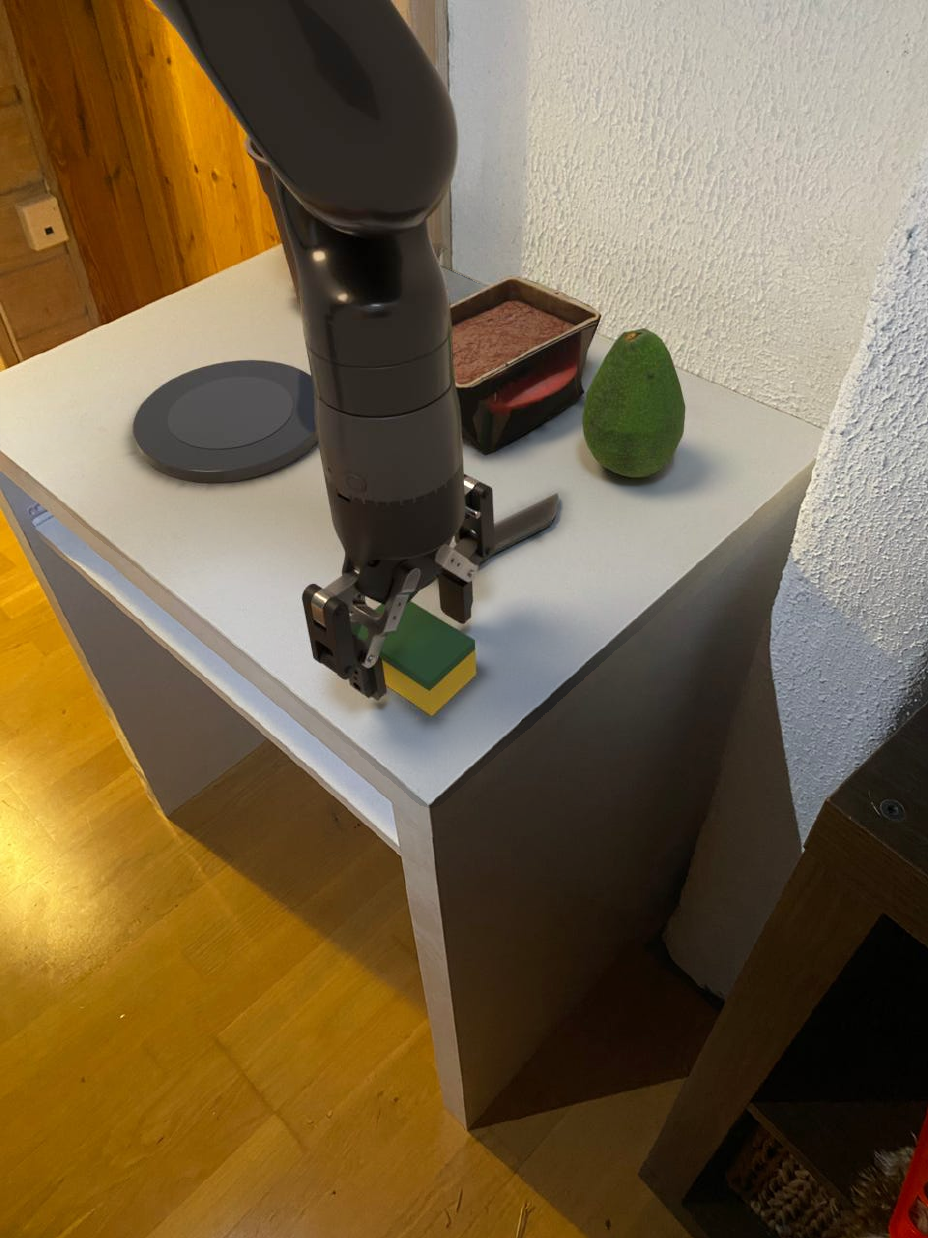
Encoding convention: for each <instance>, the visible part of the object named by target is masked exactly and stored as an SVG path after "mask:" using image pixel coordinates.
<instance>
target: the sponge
mask: <svg viewBox="0 0 928 1238" xmlns="http://www.w3.org/2000/svg"><path fill="white" fill-rule="evenodd" d="M384 608H385V605H383V604H381V603H380V604H379V605H378V606H377V607H376V608H375V609H374V610H375V611H377V612H379V613H380V614H383V611H384ZM367 636H368V629H367V628H366V627H365V626H363V625H361V628H360V631H359V634H358V638H360V639H361V640H363V641H364V642H366V639H367ZM379 657H381V658H382V664H383V670H384V677H385V683H386V687H388V688H389V689H390V690H392V691H394V692H395V693H397V694H398V695H399V696H401V697H403V698H404V699H405V700H407V701H409V702H410V703H411V704H413V705H414V706H415V707H417V708H419V709H420V710H422V711H423V712H424V713H426V714H428V715H429V716H430V717H433V716H434V715H435V714H436V713H437V712H438V711H439V710H440V709H441V708H442V707H444V706H445V705H446V704H447V703H448V702H449V701H450V700H451V699H452V698H453V697H455V695H457V693H459V692H460V691H461V690H462V689H463V688H464V687H465V686H466V685H467V684H468V683H469V682H470V681H471V680H473V678H474V677H475V676H476V675H477V659H476V640H475V639H474V638H472V637H470V635H469V636H468V635H467V634H466V633H464V632H462V631H461V630H459V629H458V628H456V627H454V626H452V625H451V624H449V623H448V622H446V621H444V620H442V619H441V618H439V617H438V616H436V615H434V614H433V613H431V612H429V610H426V609H425V608H423V607H422V606H419V605H418V604H416V603H415V602H414V601H412V600H411V601H410V602H408V603H407V604H406V605H405V608H404V610H403V613H402V616H401V618H400V621H399V624H398V626H397V629H396V631H395V632H394V633H392V634H388V635H387V636H386V638H385V641H384V644H383V647H382V649H381V652H380V655H379Z"/></svg>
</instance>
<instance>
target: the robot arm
mask: <svg viewBox="0 0 928 1238" xmlns="http://www.w3.org/2000/svg"><path fill="white" fill-rule="evenodd" d="M150 2H152V4H154V6H155V7H156V8H157V9H158V11H159V12H160V13H161V14H162V15H163V16H164V17H165V18H166V20H167V22H168V23H170V24H171V26H172V27H173V28H174V30H175V31H176V32H177V34H178V35H179V36H180V38H181V39H182V41H183V42H184V44H185V45H186V46H187V48H188V49H189V51H190V52H191V54H192V55H193V57H194V59H195V60H196V61H197V63H198V65H199V66H200V68H201V69H202V71H203V72H204V74H205V75H206V77H207V78H208V79H209V81H210V83H211V84H212V86H213V87H214V88H215V90H216V91H217V92H218V94H219V96H220V98H221V99H222V101H223V102H224V103H225V105H226V107H227V108H228V109H229V110H230V112H231V113H232V115H233V116H234V118H235V119H236V121H237V122H238V123H239V125H240V127H241V128H242V130H243V131H244V132H245V134H246V136H247V135H248V136H249V138H250V139H251V140H252V142H253V143H254V145H255V146H256V147H257V149H258V150H259V152H260V153H261V154H262V156H263V157H264V159H265V160H266V161H267V163H268V164H269V165H270V167H271V171H272V175H273V179H274V183H275V187H276V192H277V196H278V199H279V203H280V207H281V211H282V215H283V219H284V223H285V227H286V231H287V235H288V239H289V243H290V246H291V250H292V253H293V257H294V261H295V265H296V271H297V277H298V285H299V293H300V303H301V306H300V312H301V313H300V314H301V315H300V316H301V323H302V325H301V326H302V331H303V338H304V343H305V348H306V354H307V360H308V365H309V372H310V376H311V377H312V383H313V390H314V404H315V427H316V434H317V439H318V442H317V444H318V449H319V456H320V460H321V466H322V471H323V477H324V482H325V488H326V493H327V500H328V504H329V509H330V515H331V521H332V525H333V528H334V531H335V533H336V536H337V537H338V540H339V541H340V544H341V546H342V548H343V551H344V559H343V563H342V567H341V576H340V577H338V578H336V579H335V580H334V581H332V582H331V583H330V584H328V585H327V586H326V587H324V588H323V587H321V586H320V585H318V584H317V583H309V584H308V585H307V586H306V587H305V588H304V589H303V591H302V595H301V601H302V606H303V611H304V616H305V622H306V626H307V627H306V628H307V632H308V639H309V642H310V647H311V652H312V657H313V660H315V661H316V662H318V663H319V664H320V665H323V666H325V667H326V668H328V669H329V670H330V671H332V672H333V673H335V674H336V675H337V676H338V677H339V678H341V679H342V680H345V681H346V680H348V682H349V686H351V687H352V688H353V689H354V690H356V691H357V692H359V693H360V694H362V695H363V696H364V697H366V698H368V699H370V698H373V699H374V700H376V701H379V700H380V699H382V698H383V697H384V696H385V695H386V694H387V693H388V691H387V686H386V683H385V677H384V670H383V664H382V658H381V657H379V655H380V652H381V649H382V647H383V644H384V641H385V638H386V636H387V635H388V634H392V633H394V632H395V631H396V629H397V626H398V624H399V621H400V618H401V616H402V613H403V610H404V608H405V605H406V604H407V603H408V602H410V601H411V602H412V600H413V599H414V598H415V597H416V595H417V594H419V592H420V591H421V590H423V589H426V588H427V587H429V586H430V585H431V584H433V583H434V582H435V581H436V580H437V585H438V596H439V607H440V610H441V612H442V613H443V614H444V615H446V616H447V617H449V618H450V619H452V620H453V621H455V622H457V623H459V624H461V625H464V624H465V623H466V622H467V621H469V620H470V619H471V618H472V607H473V603H474V595H473V594H474V591H473V590H474V589H473V587H474V585H473V580H474V579H475V577H476V576H477V574H478V569H479V568H478V566H477V565H476V564H477V563H478V562H479V560H480V559H481V558H483V559H484V561H487V560H489V559H491V558H492V556H493V555H494V554H493V552H494V550H495V537H494V524H495V517H494V496H493V488H492V487H491V486H490V485H488V484H485V483H484V482H481V481H480V480H478V479H476V478H474V477H473V476H469V474H466V473H465V472H464V471H465V469H464V449H463V448H464V447H463V436H462V423H461V410H460V403H459V398H458V393H457V389H456V384H455V376H454V357H453V336H452V320H451V308H450V305H451V300H450V293H449V289H448V284H447V281H446V277H445V274H444V272H443V269H442V266H441V264H440V262H439V259H438V257H437V254H436V251H435V249H434V246H433V242H432V238H431V234H430V230H429V222H428V218H430V217H431V216H432V215H433V213H435V211H436V210H437V209H438V208H439V207H440V205H441V203H442V202H443V201H444V199H445V198H446V196H447V193H448V191H449V189H450V187H451V185H452V182H453V179H454V176H455V173H456V170H457V169H456V168H457V163H458V159H459V158H458V157H459V127H458V120H457V114H456V109H455V107H454V103H453V100H452V97H451V94H450V92H449V90H448V88H447V86H446V83H445V81H444V80H443V78H442V76H441V74H440V72H439V71H438V69H437V67H436V65H435V64H434V62H433V61H432V59H431V58H430V56H429V55H428V53H427V52H426V50H425V48H424V47H423V46H422V43H421V42H420V41H419V40H418V38H417V36H416V35H415V32H413V30H412V29H411V27H410V26H409V24H408V23H407V21H406V19H405V18H404V17H403V15H402V14H401V12H400V11H399V9H398V7H397V6H396V5H395V4H394V2H393V0H150ZM475 533H476V534H475ZM453 538H454V543H455V544H456V545H455V546H454V547H451V543H452V540H453ZM492 554H493V555H492ZM441 567H442V568H443V569H442V570H440V569H441ZM439 570H440V571H439ZM437 573H438V575H437ZM366 598H368V599H370V600H372V601H374V602H377V603H378V604H380V605H381V604H383V605H385V608H384V611H383V614H380V613H379V612H377V611H375V609H374V608H372V607H370V605H368V604H367V602H366ZM361 625H363V626H365V627H366V628H367V629H368V636H367V639H366V642H364V641H363V640H361V639H360V638H358V634H359V631H360V628H361Z"/></svg>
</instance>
